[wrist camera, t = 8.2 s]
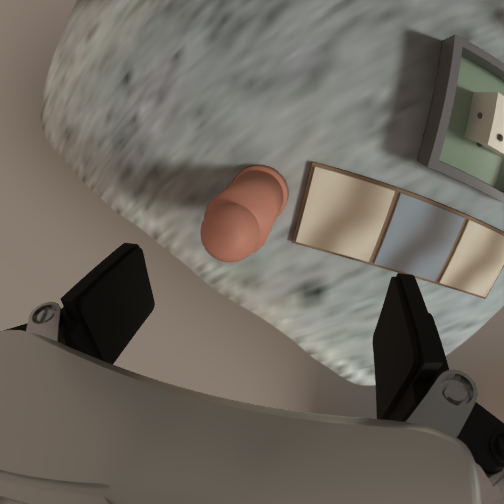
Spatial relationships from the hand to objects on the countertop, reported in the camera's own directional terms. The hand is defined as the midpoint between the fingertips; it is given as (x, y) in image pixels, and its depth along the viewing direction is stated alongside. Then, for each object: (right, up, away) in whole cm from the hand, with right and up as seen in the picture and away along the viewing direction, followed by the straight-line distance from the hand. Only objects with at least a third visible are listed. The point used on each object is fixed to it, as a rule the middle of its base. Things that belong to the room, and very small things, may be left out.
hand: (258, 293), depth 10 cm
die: (+21, +13, +7) cm, 25 cm away
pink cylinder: (+1, +7, +16) cm, 18 cm away
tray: (+21, +13, +7) cm, 26 cm away
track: (+16, +3, +14) cm, 22 cm away
